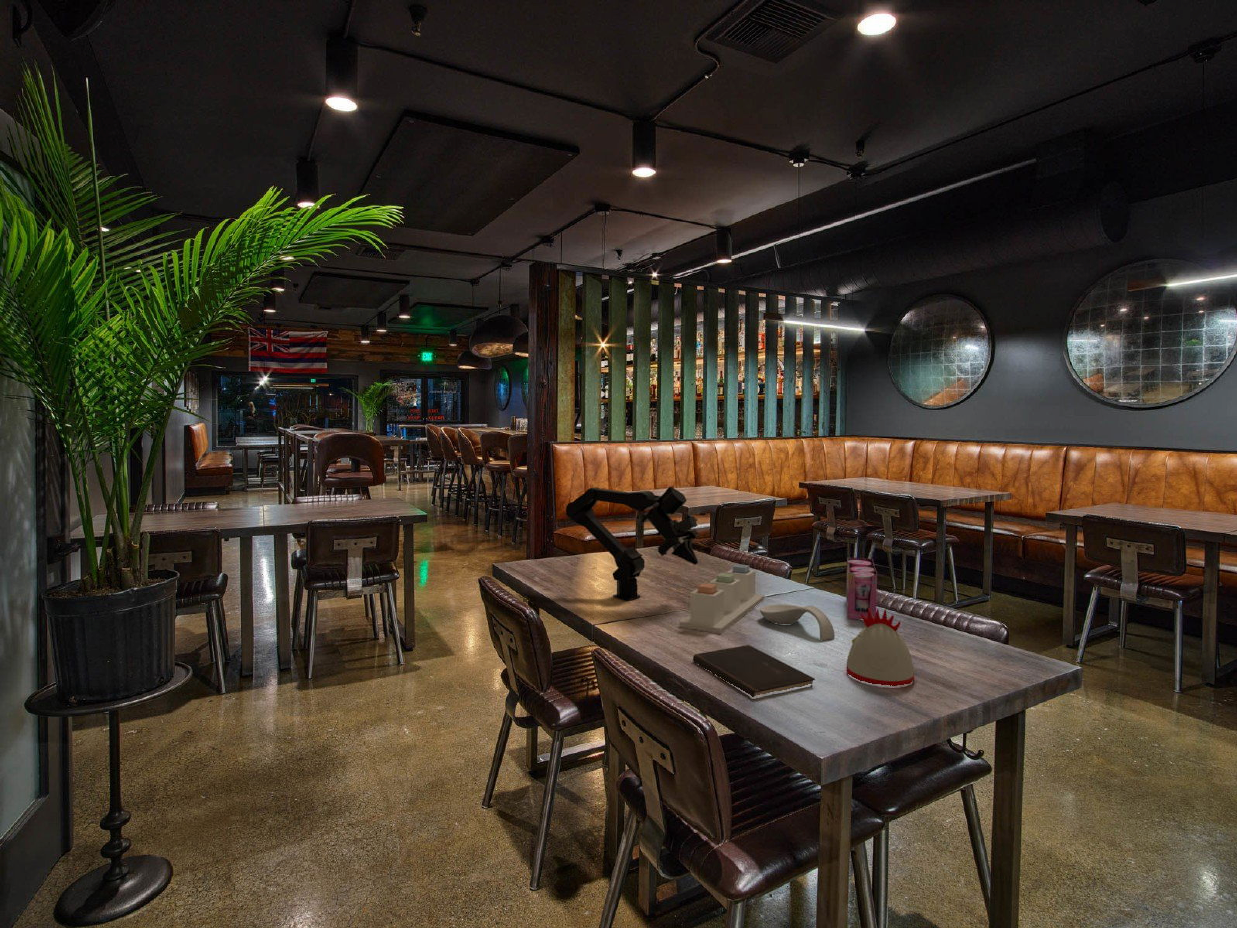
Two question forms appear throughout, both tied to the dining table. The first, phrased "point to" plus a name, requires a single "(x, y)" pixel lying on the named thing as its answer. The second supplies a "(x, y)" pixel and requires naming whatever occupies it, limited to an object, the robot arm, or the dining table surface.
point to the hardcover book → (752, 670)
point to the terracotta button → (707, 588)
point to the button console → (722, 604)
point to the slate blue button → (741, 568)
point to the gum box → (861, 588)
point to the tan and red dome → (880, 653)
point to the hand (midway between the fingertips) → (696, 563)
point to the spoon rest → (798, 617)
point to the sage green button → (725, 578)
